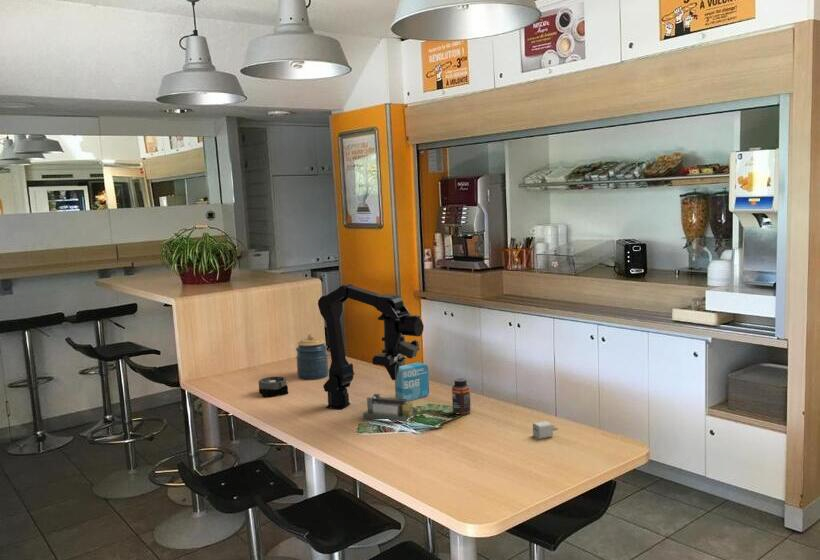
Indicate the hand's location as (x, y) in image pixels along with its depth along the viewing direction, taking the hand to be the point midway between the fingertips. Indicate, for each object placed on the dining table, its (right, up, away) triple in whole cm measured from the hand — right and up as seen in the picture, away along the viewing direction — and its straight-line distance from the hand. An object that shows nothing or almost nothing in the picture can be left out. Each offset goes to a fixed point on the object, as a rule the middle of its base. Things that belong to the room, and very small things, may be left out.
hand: (394, 380), depth 236 cm
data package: (+6, -10, +20) cm, 23 cm away
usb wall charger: (+46, -13, -25) cm, 54 cm away
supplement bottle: (+23, -11, +1) cm, 25 cm away
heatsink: (-1, -12, -1) cm, 12 cm away
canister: (-35, -7, +58) cm, 68 cm away
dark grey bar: (-2, -7, -1) cm, 8 cm away
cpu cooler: (-46, -10, +34) cm, 58 cm away
